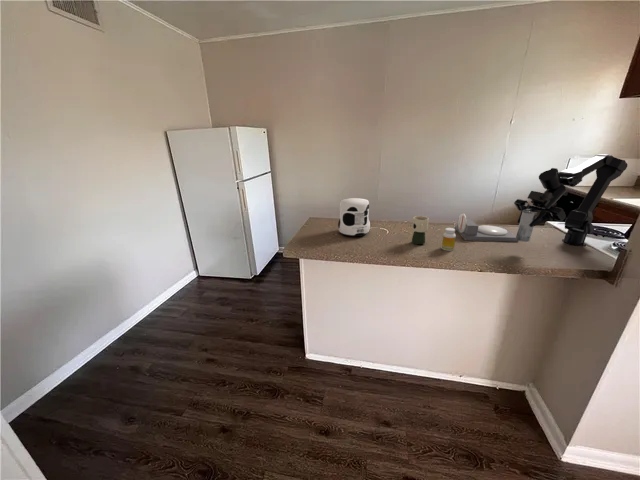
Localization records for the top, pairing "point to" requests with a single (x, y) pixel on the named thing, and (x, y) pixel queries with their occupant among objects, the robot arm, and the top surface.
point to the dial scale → (482, 231)
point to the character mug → (419, 229)
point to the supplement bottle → (448, 239)
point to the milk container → (354, 217)
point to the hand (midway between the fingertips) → (524, 224)
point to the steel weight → (526, 225)
